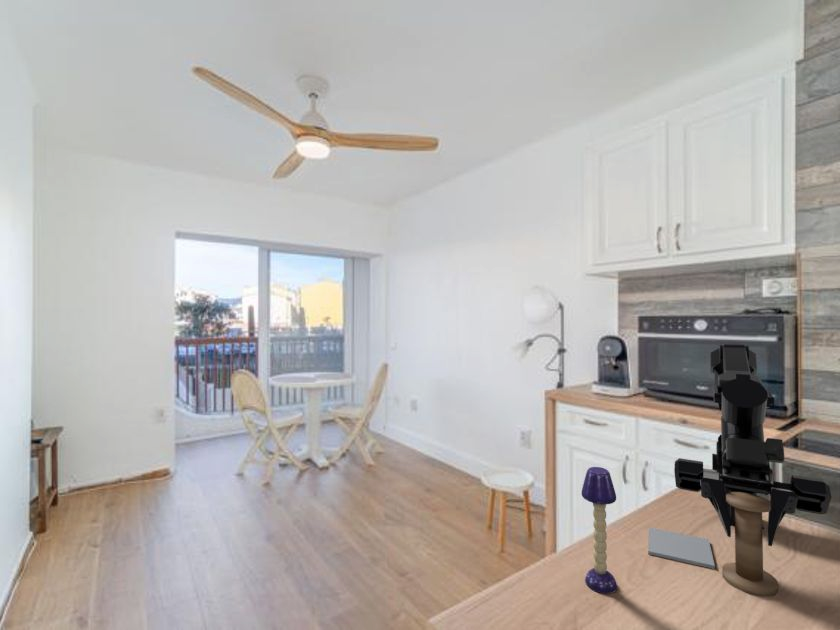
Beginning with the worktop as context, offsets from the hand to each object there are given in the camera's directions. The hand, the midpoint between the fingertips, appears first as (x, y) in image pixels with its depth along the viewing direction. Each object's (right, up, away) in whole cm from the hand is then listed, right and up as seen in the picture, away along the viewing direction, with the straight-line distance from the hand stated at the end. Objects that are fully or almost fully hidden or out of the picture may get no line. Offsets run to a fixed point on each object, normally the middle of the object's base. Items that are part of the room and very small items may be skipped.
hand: (749, 540), depth 61 cm
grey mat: (-4, -7, +10) cm, 13 cm away
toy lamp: (-21, -7, +1) cm, 22 cm away
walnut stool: (+1, -7, +1) cm, 7 cm away
